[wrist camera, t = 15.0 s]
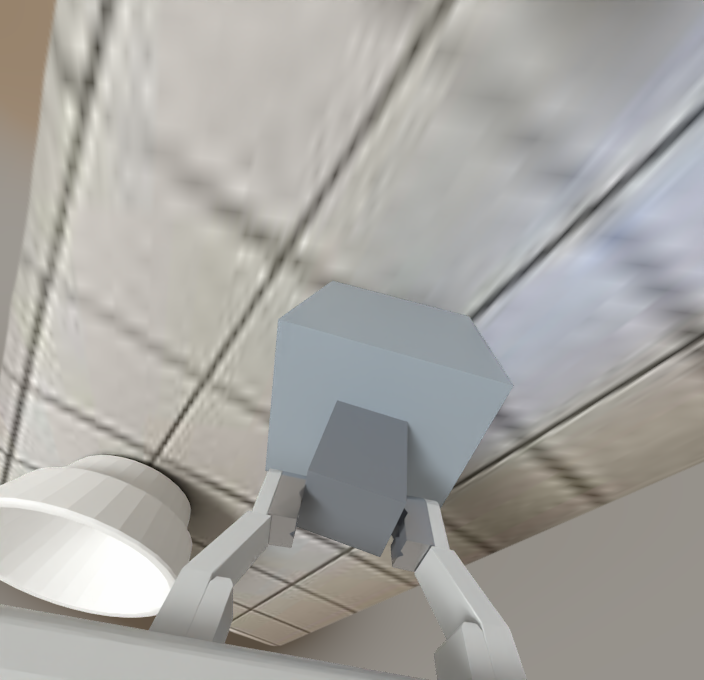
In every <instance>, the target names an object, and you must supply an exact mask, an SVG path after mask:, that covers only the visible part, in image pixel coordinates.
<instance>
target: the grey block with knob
mask: <svg viewBox="0 0 704 680" xmlns="http://www.w3.org/2000/svg"><path fill="white" fill-rule="evenodd" d="M513 386H514V385H513V384H512V382H511V381H510V379H509V378H508V376H507V374H506V373H505V371H504V370H503V368H502V367H501V365H500V364H499V362H498V360H497V359H496V357H495V356H494V354H493V353H492V351H491V350H490V348H489V346H488V345H487V343H486V342H485V340H484V339H483V337H482V336H481V334H480V332H479V331H478V329H477V328H476V326H475V325H474V323H473V322H472V320H471V318H470V317H469V316H466V315H462V314H458V313H454V312H450V311H446V310H443V309H439V308H435V307H431V306H427V305H423V304H420V303H416V302H412V301H408V300H404V299H400V298H396V297H393V296H389V295H385V294H381V293H377V292H373V291H370V290H366V289H362V288H358V287H354V286H350V285H347V284H343V283H339V282H335V281H331V282H330V283H329V284H327V285H326V286H324V287H323V288H322V289H320V290H319V291H317V292H316V293H315V294H313V295H312V296H310V297H309V298H308V299H306V300H305V301H303V302H302V303H301V304H299V305H298V306H296V307H295V308H294V309H292V310H291V311H289V312H288V313H286V314H285V315H284V316H282V317H281V318H279V319H278V330H277V341H276V353H275V365H274V376H273V388H272V400H271V411H270V423H269V435H268V447H267V458H266V470H265V471H269V469H270V468H272V469H277V470H282V471H286V472H291V473H295V474H300V475H305V476H307V477H306V482H305V489H304V494H303V498H302V505H301V509H300V514H299V518H298V523H297V527H299V528H302V529H305V530H307V531H310V532H313V533H316V534H318V535H321V536H324V537H327V538H329V539H332V540H335V541H338V542H340V543H343V544H346V545H349V546H351V547H354V548H357V549H360V550H362V551H365V552H368V553H371V554H373V555H376V556H379V557H380V556H381V554H382V552H383V550H384V548H385V546H386V544H387V542H388V540H389V538H390V536H391V534H392V532H393V530H394V528H395V526H396V524H397V522H398V520H399V518H400V516H401V514H402V512H403V510H404V508H405V506H406V502H407V495H408V496H414V497H420V498H424V499H428V500H434V501H437V502H438V504H439V507H440V508H441V507H442V505H443V503H444V502H445V500H446V498H447V497H448V495H449V493H450V492H451V490H452V488H453V486H454V485H455V483H456V481H457V480H458V478H459V476H460V475H461V473H462V471H463V470H464V468H465V466H466V465H467V463H468V461H469V460H470V458H471V456H472V455H473V453H474V451H475V450H476V448H477V446H478V445H479V443H480V441H481V439H482V438H483V436H484V434H485V433H486V431H487V429H488V428H489V426H490V424H491V423H492V421H493V419H494V418H495V416H496V414H497V413H498V411H499V409H500V408H501V406H502V404H503V403H504V401H505V399H506V397H507V396H508V394H509V392H510V391H511V389H512V387H513Z"/></svg>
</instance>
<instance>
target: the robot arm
mask: <svg viewBox="0 0 704 680" xmlns="http://www.w3.org/2000/svg"><path fill="white" fill-rule="evenodd" d="M306 477H307V476H305V475H300V474H295V473H291V472H286V471H282V470H277V469H272V468H270V469H269V471H268V473H267V475H266V477H265V480H264V482H263V485H262V487H261V490H260V492H259V495H258V497H257V500H256V502H255V505H254V507H253V510H252V511H247V512H246V513H245V514H244V515H242V516H241V517H240V518H239V519H238V520H237V521H236V522H234V523H233V524H232V525H231V526H230V527H229V528H228V529H226V530H225V531H224V532H223V533H222V534H221V535H220V536H218V537H217V538H216V539H215V540H214V541H213V542H212V543H210V544H209V545H208V546H207V547H206V548H205V549H203V550H202V551H201V552H200V553H199V554H198V555H197V556H195V557H194V558H193V559H192V560H191V561H190V562H189V563H187V564H186V565H185V566H184V567H183V568H182V570H181V571H180V573H179V575H178V577H177V579H176V581H175V583H174V584H173V586H172V588H171V590H170V592H169V594H168V596H167V597H166V599H165V601H164V603H163V605H162V607H161V608H160V610H159V612H158V614H157V616H156V618H155V620H154V621H153V623H152V625H151V627H150V629H149V631H148V630H143V629H137V628H131V627H126V626H120V625H114V624H109V623H103V622H97V621H92V620H86V619H80V618H74V617H68V616H63V615H57V614H52V613H46V612H41V611H34V610H29V609H23V608H18V607H12V606H6V605H1V604H0V680H426V679H421V678H416V677H410V676H404V675H398V674H392V673H387V672H381V671H376V670H370V669H365V668H359V667H353V666H348V665H342V664H336V663H330V662H325V661H319V660H313V659H308V658H302V657H296V656H291V655H285V654H279V653H274V652H268V651H262V650H257V649H251V648H245V647H239V646H234V645H228V644H225V640H226V637H227V634H228V631H229V628H230V625H231V622H232V619H233V586H234V585H235V584H236V583H237V582H238V581H239V579H240V578H241V577H242V576H243V575H244V574H245V572H246V571H247V570H248V569H249V568H250V567H251V565H252V564H253V563H254V562H255V561H256V560H257V558H258V557H259V556H260V555H261V554H262V553H263V551H264V550H265V549H266V548H267V547H268V544H269V545H276V546H282V547H289V548H291V547H292V543H293V539H294V535H295V531H296V526H297V522H298V516H299V514H300V509H301V505H302V498H303V494H304V489H305V482H306ZM391 535H392V537H393V539H394V540H393V542H392V544H391V557H392V567H394V568H399V569H403V570H408V571H412V572H415V573H414V574H415V576H416V578H417V580H418V582H419V584H420V586H421V588H422V590H423V592H424V594H425V596H426V598H427V600H428V602H429V604H430V607H431V609H432V611H433V613H434V615H435V617H436V619H437V621H438V623H439V625H440V627H441V629H442V631H443V633H444V635H445V637H446V639H447V640H446V641H445V642H444V643H443V644H442V645H441V646H440V647H439V648H438V649H437V650H436V652H435V653H434V659H435V667H436V674H437V680H527V679H526V676H525V673H524V670H523V667H522V664H521V661H520V658H519V655H518V652H517V649H516V646H515V643H514V640H513V637H512V634H511V631H510V628H509V627H508V626H507V624H506V623H505V621H504V620H503V619H502V617H501V616H500V614H499V613H498V612H497V610H496V609H495V607H494V606H493V605H492V603H491V602H490V600H489V599H488V598H487V596H486V595H485V593H484V592H483V591H482V589H481V588H480V586H479V585H478V584H477V582H476V581H475V579H474V578H473V577H472V576H471V574H470V572H469V571H468V570H467V569H466V567H465V565H464V564H463V563H462V561H461V560H460V558H459V557H458V556H457V554H456V553H455V551H454V550H450V548H449V544H448V539H447V535H446V531H445V527H444V523H443V519H442V515H441V511H440V507H439V504H438V502H437V501H434V500H428V499H424V498H420V497H414V496H408V495H407V502H406V506H405V508H404V510H403V512H402V514H401V516H400V518H399V520H398V522H397V524H396V526H395V528H394V530H393V532H392V534H391Z"/></svg>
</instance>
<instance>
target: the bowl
mask: <svg viewBox="0 0 704 680" xmlns="http://www.w3.org/2000/svg"><path fill="white" fill-rule="evenodd" d="M190 514H191V507H190V503H189V501H188V499H187V497H186V495H185V494H184V493H183V491H182V490H181V489H180V488H179V487H178V486H177V485H176V484H175V483H174V482H173V481H172V480H170V479H169V478H168V477H166V476H165V475H163V474H162V473H160V472H159V471H157V470H155V469H153V468H151V467H149V466H147V465H145V464H142V463H140V462H137V461H134V460H131V459H127V458H124V457H118V456H112V455H94V456H87V457H85V458H82V459H80V460H78V461H75V462H73V463H71V464H69V465H67V466H65V467H49V468H42V469H37V470H34V471H32V472H29V473H27V474H25V475H22V476H20V477H18V478H16V479H14V480H11V481H9V482H7V483H5V484H3V485H0V580H1V581H3V582H5V583H7V584H9V585H11V586H13V587H15V588H17V589H19V590H21V591H24V592H26V593H28V594H30V595H33V596H35V597H38V598H40V599H43V600H46V601H49V602H51V603H54V604H58V605H61V606H64V607H68V608H71V609H75V610H79V611H83V612H88V613H92V614H99V615H105V616H113V617H114V616H115V617H147V616H154V615H157V614H158V612H159V610H160V608H161V607H162V605H163V603H164V601H165V599H166V597H167V596H168V594H169V592H170V590H171V588H172V586H173V584H174V583H175V581H176V579H177V577H178V575H179V573H180V571H181V570H182V568H183V567H184V566H185V565H186V564H187V563H189V559H190V555H191V550H192V540H191V536H190V533H189V531H188V530H187V527H188V523H189V520H190Z"/></svg>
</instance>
